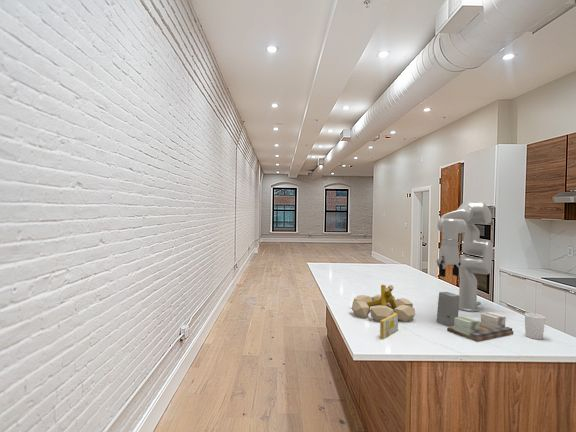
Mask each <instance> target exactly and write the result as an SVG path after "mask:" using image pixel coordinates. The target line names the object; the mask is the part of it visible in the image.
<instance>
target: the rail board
mask: <svg viewBox="0 0 576 432" xmlns="http://www.w3.org/2000/svg"><path fill="white" fill-rule="evenodd" d="M506 320H507V319H506V315H502V314H499V313H495V312H491V311H489V312H483V313H480V320H478V319H475V318H472V317H469V316H465V315H463V316H458V317H456V318H454V326H448V327H447V328H446V331H447V332H449V333H453V334H454V335H458V336H460V337H463V338H466V339H468V340H470V341H473V342H475V343H476V342H477V343H478V342H484V341H489V340H493V339H497V338H498V339H499V338H503V337H507V336H512V335H514V331H513V328H512V327H509V326H506Z"/></svg>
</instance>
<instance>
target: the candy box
mask: <svg viewBox="0 0 576 432" xmlns="http://www.w3.org/2000/svg"><path fill="white" fill-rule="evenodd" d="M379 323H380V324H379V325H380V326H379V329H380V331H379V332H380V333H379V334H380V338H379V339H382V340H384V339H386V338H388V337H390V336H391V335H393V334H394V333H396V332H398V331H399V320H398V314H397V313H395V312H394V314H392V315H390V316H388V317H387V318H385V319H383V320H381V321H380V322H379Z"/></svg>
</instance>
